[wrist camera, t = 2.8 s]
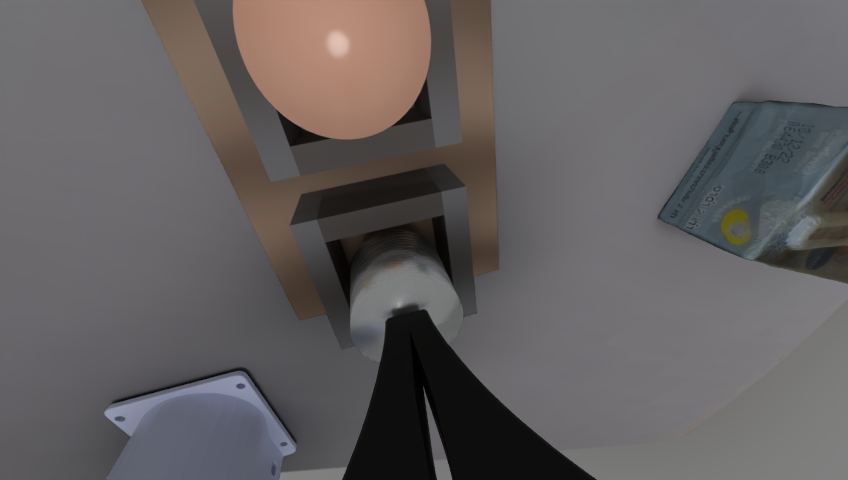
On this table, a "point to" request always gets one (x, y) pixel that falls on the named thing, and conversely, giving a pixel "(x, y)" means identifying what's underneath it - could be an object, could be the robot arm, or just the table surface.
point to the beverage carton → (772, 187)
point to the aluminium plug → (399, 288)
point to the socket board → (351, 157)
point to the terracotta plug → (336, 60)
